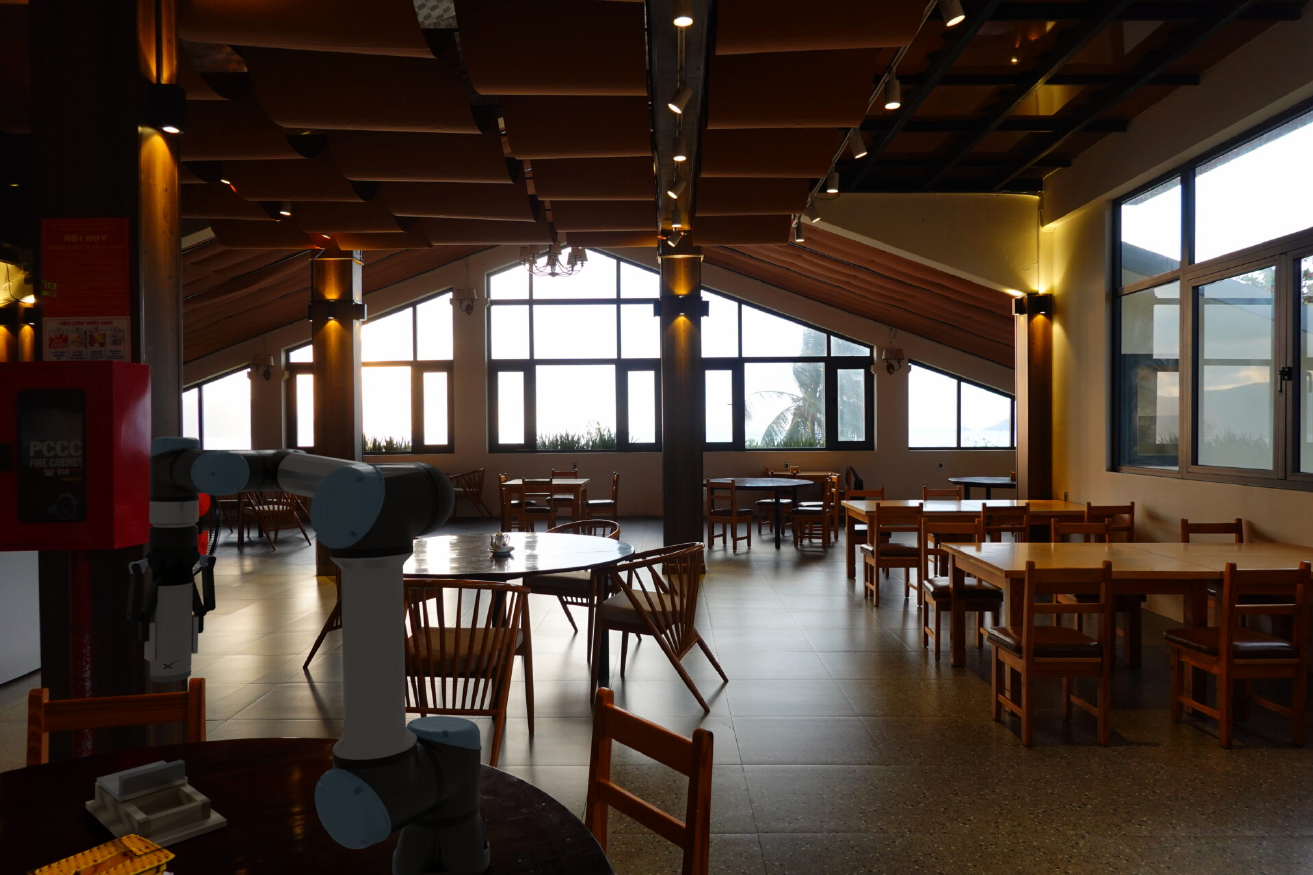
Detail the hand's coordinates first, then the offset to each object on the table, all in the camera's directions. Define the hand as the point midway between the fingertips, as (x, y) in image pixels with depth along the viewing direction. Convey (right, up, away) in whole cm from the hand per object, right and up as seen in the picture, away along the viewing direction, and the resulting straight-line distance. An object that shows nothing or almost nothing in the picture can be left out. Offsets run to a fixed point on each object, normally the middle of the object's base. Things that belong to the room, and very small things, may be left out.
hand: (171, 655), depth 144 cm
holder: (-4, -29, +2) cm, 30 cm away
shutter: (-9, -25, +6) cm, 27 cm away
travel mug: (0, -4, 0) cm, 4 cm away
